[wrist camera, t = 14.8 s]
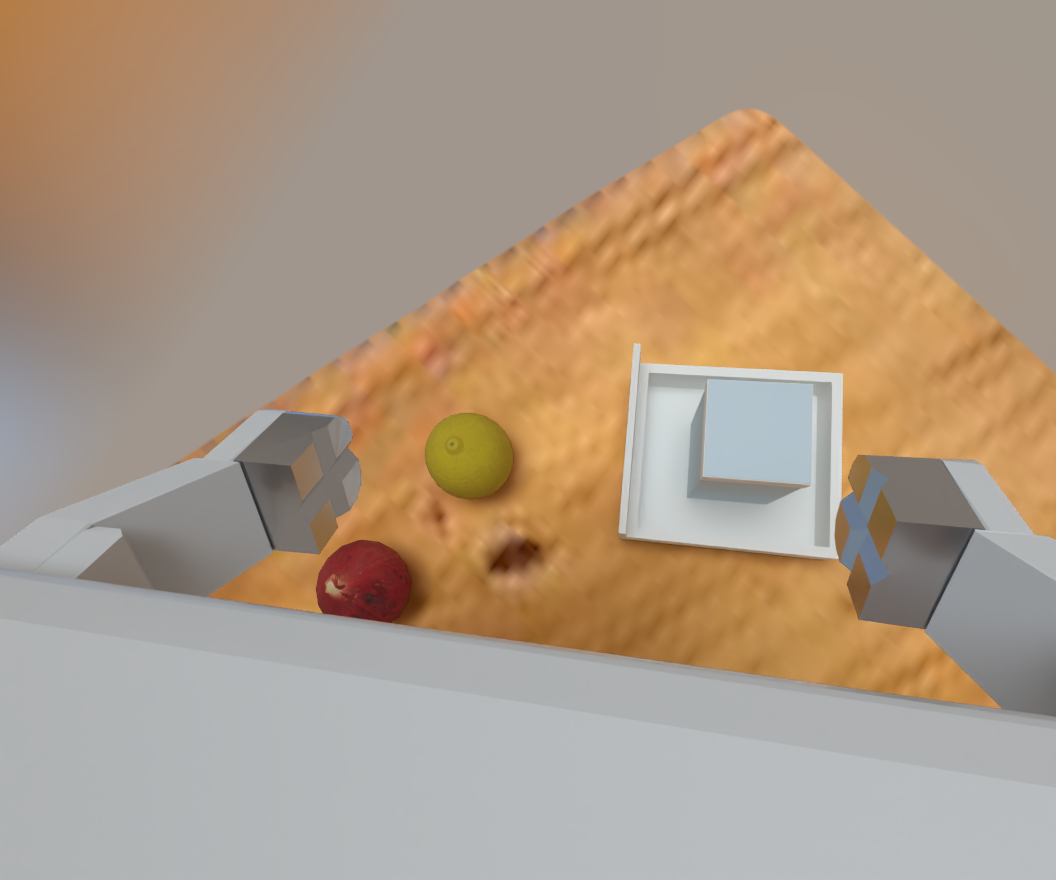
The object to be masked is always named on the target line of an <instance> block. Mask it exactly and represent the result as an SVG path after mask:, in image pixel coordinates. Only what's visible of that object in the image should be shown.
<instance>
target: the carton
mask: <svg viewBox="0 0 1056 880" xmlns="http://www.w3.org/2000/svg"><path fill="white" fill-rule="evenodd" d="M812 429H813V384H798V383H777V382H757V381H736V380H715V379H708V380H707V382H706V385H705V390H704V393H703V395H702V398H701V400H700V403H699V405H698V408H697V410H696V413H695V415H694V418H693V420H692V423H691V430H690V448H689V466H688V484H687V498H695V499H707V500H719V501H731V502H742V503H754V504H766V505H767V504H769V503H771V502H773V501H775V500H777V499H780V498H782V497H784V496H786V495H788V494H790V493H792V492H794V491H797V490H799V489H801V488H806V487H809V486H811V485H812Z"/></svg>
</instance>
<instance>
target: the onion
mask: <svg viewBox="0 0 1056 880" xmlns="http://www.w3.org/2000/svg"><path fill="white" fill-rule="evenodd" d="M410 588H411V579H410V576H409V572H408V569H407V566H406V564H405V563H404V561H403V560H402V559H401V557H400V556H399V555H398V553H397V552H396V551H394V550H393V549H391V548H389V547H387V546H386V545H384V544H382V543H380V542H375V541H367V540H358V541H355V542H352V543H349V544H347V545H344V546H341V547H340V548H339V549H338V550H337V551H336V552H334V553H333V554H332V555H331V556H330V557H329V558H328V559H327V560H326V562H325V564H324V565H323V567H322V569H321V570H320V572H319V576H318V581H317V587H316V592H317V599H318V605H319V607H320V609H321V611H322V612H323V614H330V615H337V616H344V617H351V618H358V619H366V620H373V621H380V622H387V623H391V622H392V621H394V620H395V619H397V618H398V617H399V616H400V615H401V613H402V611H403V610H404V608H405V606H406V605H407V603H408V601H409V596H410Z"/></svg>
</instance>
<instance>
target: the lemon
mask: <svg viewBox="0 0 1056 880" xmlns="http://www.w3.org/2000/svg"><path fill="white" fill-rule="evenodd" d="M425 458H426V465H427V467H428V470H429V473H430V475H431V476H432V478H433V479H434V481H435V482H436V483H437V485H439V486H440V487H441V488H442V489H443V490H444V491H446V492H447V493H449V494H451V495H454V496H456V497H458V498H464V499H479V498H483V497H486V496H489V495H491V494H493V493H494V492H496V491H497V490H499V489H500V488H501V487H502V485H503V484H504V483H505V482H506V481H507V479H508V477H509V475H510V473H511V470H512V466H513V449H512V445H511V442H510V440H509V438H508V436H507V434H506V432H505V431H504V430H503V429H502V428H501V427H500V426H499V425H498V424H497V423H496V422H494V421H493V420H491V419H489V418H488V417H486V416H483V415H479V414H475V413H460V414H455V415H451V416H449V417H448V418H446V419H444V420H442V421H441V422H440V423H439V424H438V425H437V426H436V427H435V428H434V429H433V431H432V432H431V433H430V435H429V438H428V440H427V443H426V449H425Z"/></svg>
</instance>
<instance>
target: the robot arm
mask: <svg viewBox="0 0 1056 880" xmlns="http://www.w3.org/2000/svg"><path fill="white" fill-rule="evenodd" d="M352 439H353V435H352V432H351V428H350V425H349V422H348V421H347V420H346V419H345V418H343V417H342V416H336V415H325V414H315V413H304V412H294V411H291V412H289V411H284V410H267V409H266V410H258V411H256V412H255V413H254V414H253V415H252V416H251V417H249V418H248V419H247V420H246V421H245V422H244V423H243V424H241V425H240V426H239V427H238V428H237V429H236V430H235V431H234V432H232V433H231V434H230V435H229V436H228V437H227V438H226V439H224V440H223V441H222V442H221V443H220V444H219V445H218V446H216V447H215V448H214V449H213V450H212V451H211V452H210V453H208V454H207V455H206V456H205V457H204V458H203V459H202V458H193V459H190V460H188V461H185V462H183V463H180V464H177V465H175V466H172V467H169V468H167V469H164V470H162V471H159V472H157V473H154V474H151V475H149V476H146V477H143V478H141V479H138V480H135V481H133V482H130V483H128V484H125V485H123V486H120V487H117V488H115V489H112V490H109V491H107V492H104V493H102V494H99V495H96V496H94V497H91V498H88V499H86V500H83V501H81V502H78V503H75V504H73V505H70V506H67V507H65V508H62V509H60V510H57V511H54V512H52V513H49V514H46V515H44V516H41V517H39V518H38V519H37V520H35V521H34V522H33V523H31V524H30V525H28V526H27V527H26V528H24V529H23V530H22V531H21V532H19V533H18V534H16V535H15V536H14V537H12V538H11V539H10V540H8V541H7V542H6V543H4V544H3V545H2V546H1V547H0V880H1056V540H1054V539H1052V538H1050V537H1049V536H1040V535H1034V533H1033V532H1032V531H1031V529H1030V528H1029V526H1028V525H1027V524H1026V522H1025V521H1024V520H1023V518H1022V517H1021V516H1020V514H1019V513H1018V512H1017V510H1016V509H1015V508H1014V506H1013V505H1012V504H1011V502H1010V501H1009V499H1008V498H1007V497H1006V495H1005V494H1004V493H1003V491H1002V490H1001V489H1000V487H999V486H998V485H997V483H996V482H995V481H994V479H993V478H992V477H991V475H990V474H989V472H988V471H987V470H986V468H985V467H984V466H983V465H982V464H981V463H979V462H977V461H975V460H961V459H936V458H935V459H929V458H910V457H891V456H872V455H858V456H857V457H856V459H855V460H854V462H853V464H852V467H851V470H850V473H849V476H848V479H849V482H850V484H851V487H852V489H853V492H852V493H851V494H849V495H848V496H847V497H845V498H844V499H843V500H841V501H840V504H839V508H838V512H837V515H836V520H835V534H834V537H835V545H836V551H837V554H838V558H839V561H840V562H841V563H842V564H843V565H844V566H846V567H847V568H848V569H849V570H850V571H851V574H850V576H849V579H848V582H847V586H848V589H849V592H850V595H851V598H852V601H853V604H854V607H855V610H856V613H857V616H858V619H859V620H865V621H872V622H879V623H886V624H892V625H899V626H906V627H913V628H920V629H926V630H925V633H926V634H927V635H928V636H929V637H930V638H931V639H932V640H933V641H934V642H935V643H936V644H937V645H938V646H939V647H940V648H942V649H943V650H944V651H945V652H946V653H947V654H948V655H949V656H950V657H951V658H952V659H953V660H954V661H955V662H956V663H957V664H958V665H959V666H960V667H961V668H962V669H963V670H964V671H965V672H966V673H967V674H968V675H969V676H970V677H971V678H972V679H973V680H974V681H975V682H976V683H977V684H978V685H979V686H980V687H981V688H982V689H983V690H984V691H985V692H986V693H987V694H988V695H989V696H990V697H991V698H992V699H993V700H994V701H995V702H996V703H997V704H998V705H999V706H1000V707H1001V708H1003V709H998V708H991V707H984V706H977V705H970V704H962V703H955V702H948V701H940V700H933V699H926V698H918V697H911V696H904V695H897V694H889V693H882V692H875V691H868V690H861V689H854V688H847V687H840V686H833V685H826V684H819V683H812V682H805V681H798V680H791V679H784V678H777V677H770V676H763V675H756V674H749V673H742V672H735V671H727V670H720V669H713V668H706V667H699V666H692V665H685V664H678V663H671V662H664V661H657V660H650V659H643V658H636V657H629V656H622V655H615V654H608V653H601V652H594V651H587V650H580V649H573V648H566V647H558V646H551V645H544V644H537V643H530V642H523V641H516V640H508V639H501V638H494V637H487V636H480V635H473V634H465V633H458V632H451V631H444V630H437V629H430V628H423V627H415V626H408V625H401V624H394V623H387V622H380V621H373V620H366V619H358V618H351V617H344V616H337V615H330V614H323V613H316V612H309V611H302V610H295V609H288V608H281V607H274V606H266V605H259V604H252V603H245V602H238V601H231V600H224V599H217V598H210V597H207V596H208V595H210V594H211V593H213V592H214V591H216V590H217V589H219V588H220V587H222V586H223V585H225V584H226V583H228V582H229V581H231V580H232V579H234V578H235V577H237V576H238V575H240V574H241V573H243V572H244V571H246V570H247V569H249V568H250V567H252V566H253V565H255V564H256V563H258V562H259V561H261V560H262V559H264V558H265V557H267V556H268V555H270V554H271V553H273V550H278V551H289V552H300V553H311V554H320V553H321V551H322V550H323V548H324V547H325V546H326V544H327V543H328V541H329V540H330V538H331V537H332V536H333V534H334V533H335V531H336V530H337V528H338V525H337V522H336V518H337V517H339V516H340V515H342V514H344V513H346V512H348V511H350V509H351V508H352V506H353V505H354V503H355V502H356V500H357V498H358V494H359V490H360V486H361V469H360V464H359V460H358V458H357V457H356V456H355V455H354V454H353V453H352V452H351V451H350V450H349V449H348V446H349V444H350V443H351V441H352Z"/></svg>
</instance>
